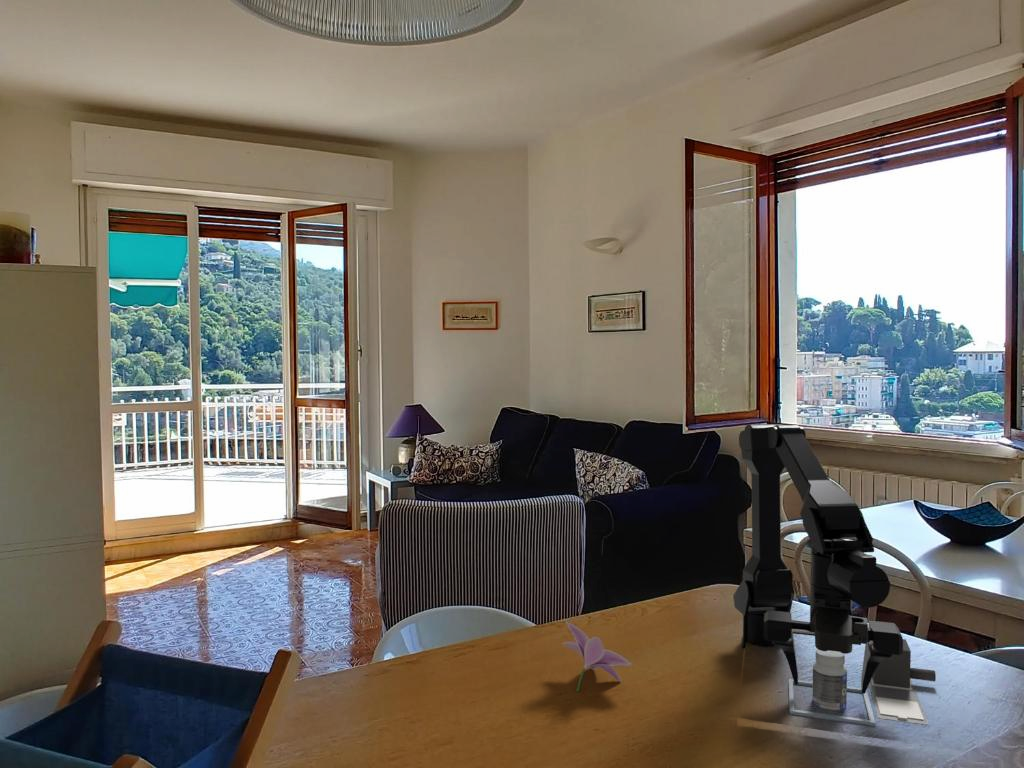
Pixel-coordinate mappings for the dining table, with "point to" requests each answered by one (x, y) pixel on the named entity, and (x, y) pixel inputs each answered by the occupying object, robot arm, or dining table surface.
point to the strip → (897, 703)
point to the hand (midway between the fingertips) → (829, 688)
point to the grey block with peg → (900, 670)
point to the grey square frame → (827, 716)
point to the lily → (594, 653)
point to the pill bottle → (829, 680)
